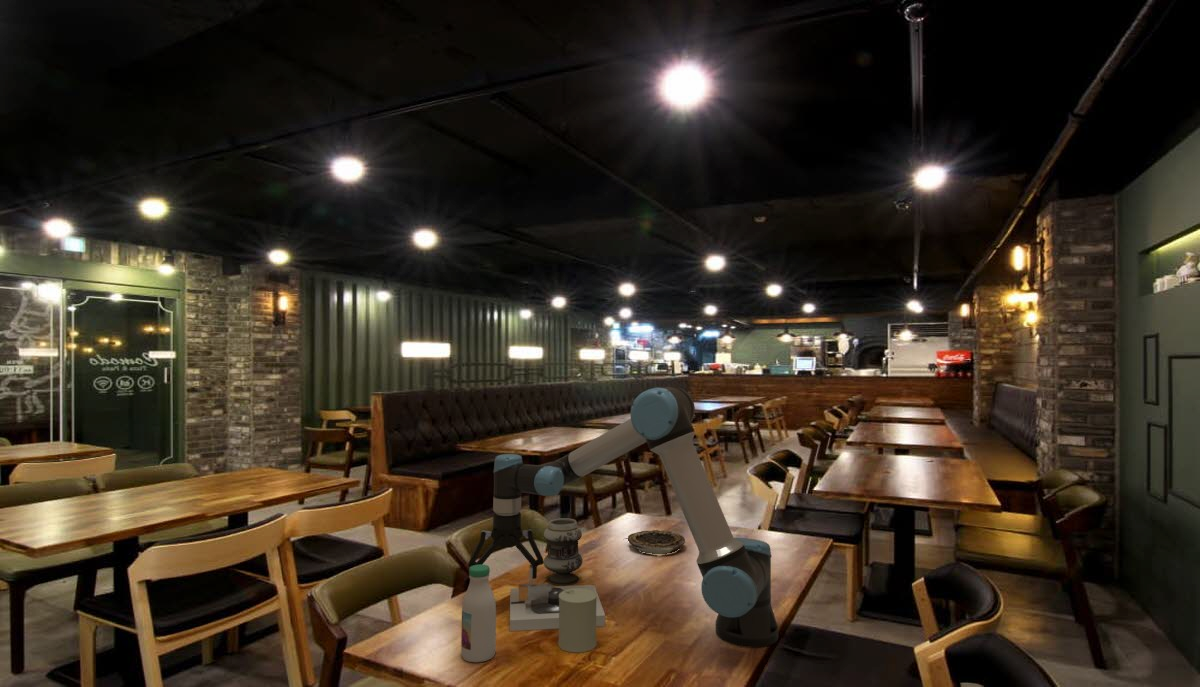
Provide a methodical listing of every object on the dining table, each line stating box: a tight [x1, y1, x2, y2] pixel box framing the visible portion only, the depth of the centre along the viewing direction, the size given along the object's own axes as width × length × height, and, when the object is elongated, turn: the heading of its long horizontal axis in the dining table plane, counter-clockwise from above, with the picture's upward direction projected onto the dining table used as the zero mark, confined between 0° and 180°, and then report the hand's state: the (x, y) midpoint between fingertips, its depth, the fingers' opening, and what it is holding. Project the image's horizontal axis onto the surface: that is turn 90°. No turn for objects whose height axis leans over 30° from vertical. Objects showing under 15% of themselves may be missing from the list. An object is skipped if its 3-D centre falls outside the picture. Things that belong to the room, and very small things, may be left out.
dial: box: [518, 583, 563, 614], centre depth 168 cm, size 16×13×6 cm
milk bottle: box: [460, 563, 497, 663], centre depth 143 cm, size 8×8×20 cm
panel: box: [509, 584, 606, 632], centre depth 168 cm, size 22×24×3 cm
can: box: [557, 588, 598, 654], centre depth 149 cm, size 9×9×12 cm
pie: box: [624, 529, 686, 554], centre depth 226 cm, size 28×27×5 cm
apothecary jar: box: [543, 517, 583, 586], centre depth 193 cm, size 12×12×18 cm
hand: (505, 591), depth 170 cm, fingers open, 13 cm apart
